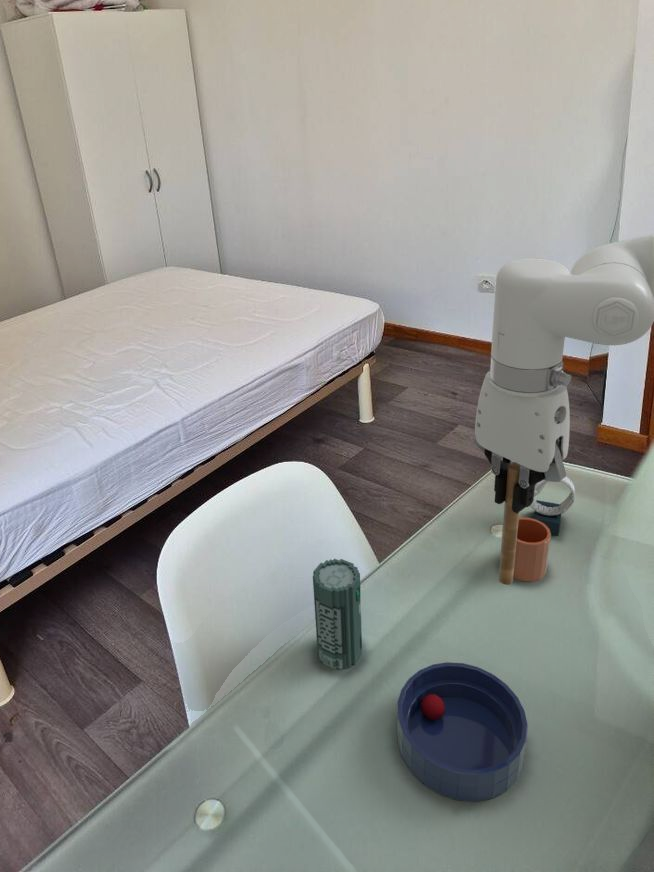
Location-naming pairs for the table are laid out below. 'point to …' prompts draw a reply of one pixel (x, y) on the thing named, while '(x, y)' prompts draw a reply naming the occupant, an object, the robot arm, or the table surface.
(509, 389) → the robot arm
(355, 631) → the can
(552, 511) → the watch
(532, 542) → the crock
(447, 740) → the bowl
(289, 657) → the table surface
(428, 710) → the ball
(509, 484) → the stick
